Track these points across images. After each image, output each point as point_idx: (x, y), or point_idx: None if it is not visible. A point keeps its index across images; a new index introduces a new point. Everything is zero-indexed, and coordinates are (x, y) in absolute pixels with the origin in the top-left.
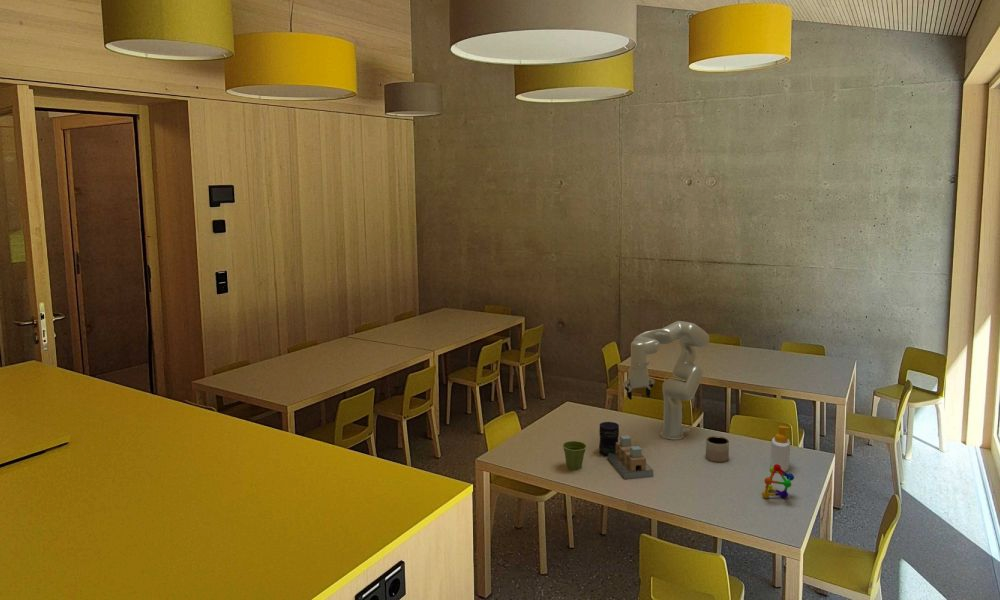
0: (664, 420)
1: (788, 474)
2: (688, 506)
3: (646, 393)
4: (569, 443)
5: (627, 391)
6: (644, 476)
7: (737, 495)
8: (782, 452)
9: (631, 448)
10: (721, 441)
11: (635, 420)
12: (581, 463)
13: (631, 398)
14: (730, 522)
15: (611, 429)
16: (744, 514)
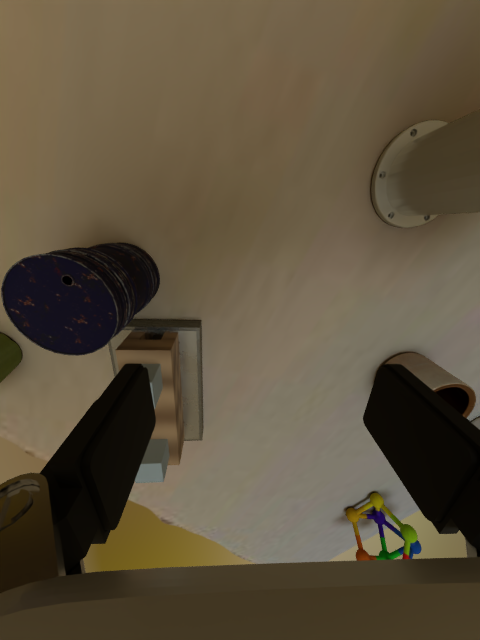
0: (440, 161)
1: (413, 552)
2: (216, 516)
3: (397, 407)
4: None
5: (38, 485)
6: None
7: (314, 499)
8: None
9: None
10: (457, 388)
11: None
12: (7, 375)
13: (149, 432)
14: (251, 548)
15: (72, 352)
16: (284, 536)
